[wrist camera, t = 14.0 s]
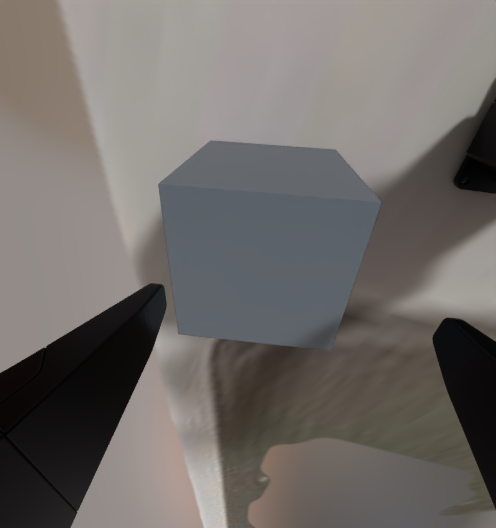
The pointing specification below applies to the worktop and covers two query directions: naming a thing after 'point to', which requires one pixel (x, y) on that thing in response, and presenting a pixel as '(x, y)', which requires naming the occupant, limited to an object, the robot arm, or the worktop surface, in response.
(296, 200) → the grey block
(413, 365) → the worktop surface
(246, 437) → the worktop surface
